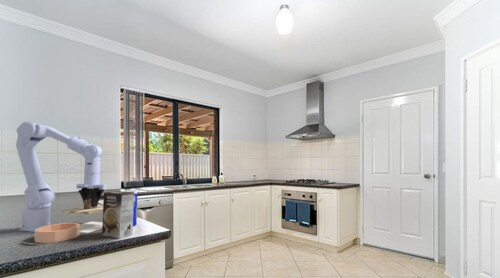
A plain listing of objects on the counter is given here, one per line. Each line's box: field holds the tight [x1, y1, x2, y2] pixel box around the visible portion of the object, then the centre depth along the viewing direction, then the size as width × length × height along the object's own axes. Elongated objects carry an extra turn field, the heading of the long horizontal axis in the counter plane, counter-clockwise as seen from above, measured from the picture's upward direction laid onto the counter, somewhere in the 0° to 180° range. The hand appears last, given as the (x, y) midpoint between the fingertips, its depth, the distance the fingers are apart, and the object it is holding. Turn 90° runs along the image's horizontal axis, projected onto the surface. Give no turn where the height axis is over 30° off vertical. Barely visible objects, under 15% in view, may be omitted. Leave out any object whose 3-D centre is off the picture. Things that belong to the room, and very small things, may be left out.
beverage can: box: [124, 189, 138, 227], centre depth 112 cm, size 5×5×15 cm
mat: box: [79, 221, 103, 234], centre depth 110 cm, size 15×15×1 cm
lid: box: [61, 199, 103, 215], centre depth 110 cm, size 14×14×4 cm
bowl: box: [33, 222, 81, 245], centre depth 95 cm, size 13×13×4 cm
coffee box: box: [101, 190, 134, 240], centre depth 99 cm, size 9×6×16 cm
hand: (90, 206), depth 110 cm, fingers closed on lid, 3 cm apart
